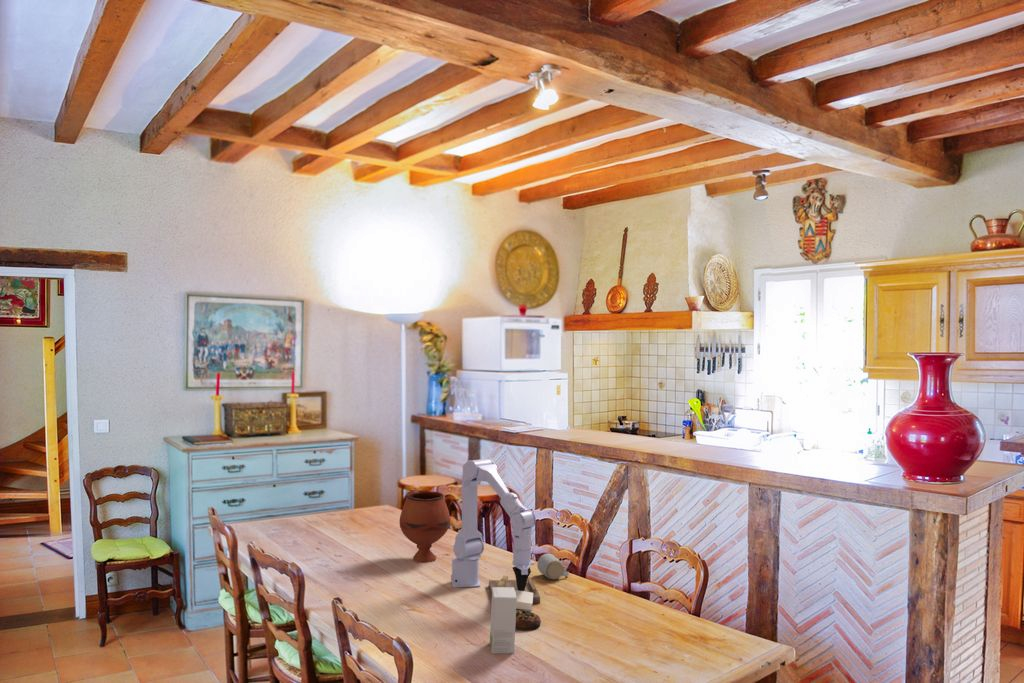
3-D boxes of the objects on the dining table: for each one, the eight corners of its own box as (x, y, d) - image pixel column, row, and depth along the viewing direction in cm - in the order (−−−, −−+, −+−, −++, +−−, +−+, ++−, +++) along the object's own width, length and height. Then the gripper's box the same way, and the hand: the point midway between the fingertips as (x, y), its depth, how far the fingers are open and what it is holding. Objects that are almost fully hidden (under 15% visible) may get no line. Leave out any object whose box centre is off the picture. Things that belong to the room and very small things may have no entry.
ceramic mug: (546, 581, 268) (547, 559, 268) (536, 574, 276) (537, 553, 276) (573, 579, 272) (573, 557, 272) (562, 572, 280) (563, 551, 280)
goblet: (389, 562, 287) (390, 496, 287) (414, 550, 304) (415, 488, 304) (434, 569, 279) (435, 501, 279) (457, 556, 297) (458, 492, 297)
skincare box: (489, 642, 213) (491, 586, 213) (513, 642, 213) (514, 586, 214) (491, 654, 205) (492, 596, 205) (515, 654, 205) (517, 596, 205)
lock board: (493, 604, 244) (494, 593, 244) (488, 586, 262) (489, 576, 262) (540, 603, 246) (540, 592, 246) (531, 585, 264) (532, 575, 264)
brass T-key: (502, 589, 251) (503, 575, 251) (508, 590, 251) (508, 576, 251) (495, 601, 240) (496, 586, 240) (501, 602, 239) (501, 587, 239)
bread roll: (529, 633, 220) (528, 616, 220) (497, 630, 226) (496, 613, 226) (548, 624, 229) (547, 606, 230) (517, 621, 235) (516, 604, 235)
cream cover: (509, 607, 239) (510, 600, 239) (511, 596, 245) (511, 589, 244) (531, 610, 239) (532, 603, 238) (532, 599, 245) (533, 592, 244)
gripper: (537, 554, 240) (536, 597, 240) (531, 542, 254) (530, 582, 254) (515, 554, 239) (514, 598, 239) (510, 542, 253) (509, 583, 253)
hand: (521, 590), depth 246 cm, fingers closed
